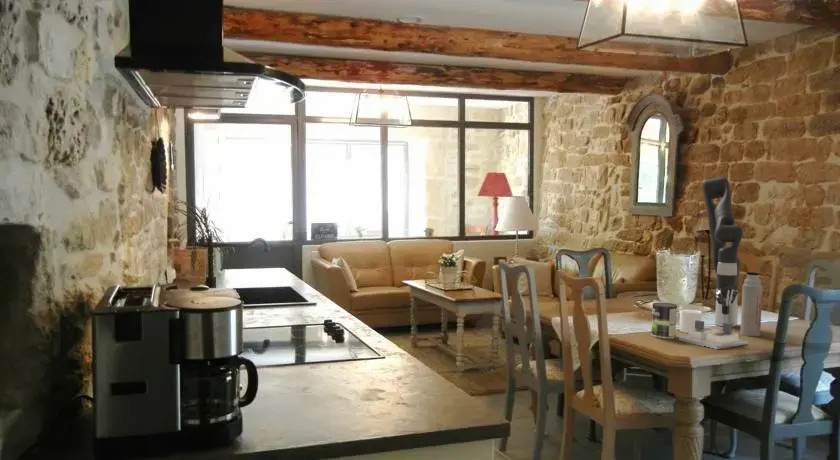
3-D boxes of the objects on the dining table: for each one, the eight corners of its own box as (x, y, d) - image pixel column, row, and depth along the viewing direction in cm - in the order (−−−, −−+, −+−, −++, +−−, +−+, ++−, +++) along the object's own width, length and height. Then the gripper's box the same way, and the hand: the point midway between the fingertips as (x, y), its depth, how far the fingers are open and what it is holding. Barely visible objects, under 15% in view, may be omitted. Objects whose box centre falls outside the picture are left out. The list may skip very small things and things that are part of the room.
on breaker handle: (697, 328, 287) (698, 320, 287) (703, 329, 285) (704, 321, 284) (694, 328, 286) (695, 320, 286) (700, 330, 284) (701, 321, 283)
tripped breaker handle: (725, 331, 283) (725, 322, 282) (732, 332, 280) (732, 323, 280) (722, 331, 282) (722, 323, 281) (728, 332, 279) (729, 324, 279)
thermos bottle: (764, 335, 298) (767, 273, 296) (752, 337, 294) (755, 274, 293) (748, 331, 305) (750, 271, 303) (736, 333, 301) (739, 271, 300)
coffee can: (657, 338, 289) (658, 306, 288) (647, 333, 299) (648, 302, 298) (680, 338, 290) (681, 306, 289) (669, 333, 300) (670, 302, 299)
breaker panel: (709, 335, 296) (709, 325, 296) (746, 344, 281) (747, 333, 280) (679, 340, 286) (679, 329, 286) (716, 349, 271) (716, 338, 270)
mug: (703, 331, 304) (704, 311, 304) (695, 334, 298) (696, 314, 297) (678, 327, 313) (678, 307, 312) (669, 330, 306) (670, 310, 306)
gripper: (728, 271, 284) (727, 311, 286) (708, 273, 278) (707, 314, 279) (745, 273, 278) (743, 314, 279) (725, 275, 271) (723, 317, 272)
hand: (725, 314), depth 279 cm, fingers closed
